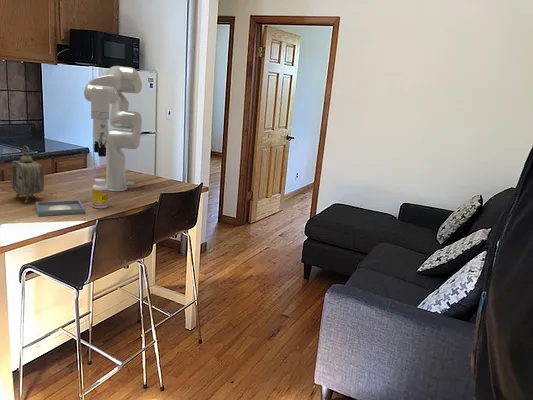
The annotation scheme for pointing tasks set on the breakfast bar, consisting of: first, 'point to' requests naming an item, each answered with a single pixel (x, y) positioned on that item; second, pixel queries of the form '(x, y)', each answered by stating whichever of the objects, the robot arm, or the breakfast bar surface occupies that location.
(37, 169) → the tabletop clock
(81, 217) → the breakfast bar surface
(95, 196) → the supplement bottle
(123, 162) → the robot arm
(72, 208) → the tray
